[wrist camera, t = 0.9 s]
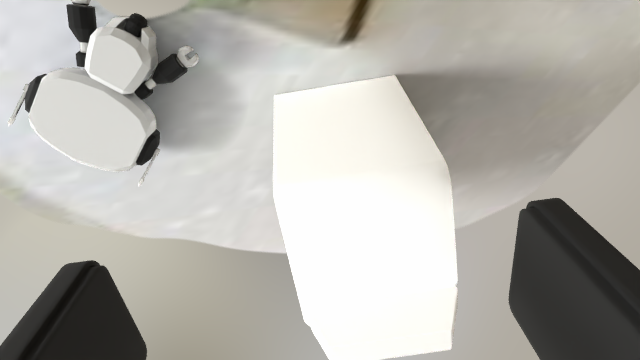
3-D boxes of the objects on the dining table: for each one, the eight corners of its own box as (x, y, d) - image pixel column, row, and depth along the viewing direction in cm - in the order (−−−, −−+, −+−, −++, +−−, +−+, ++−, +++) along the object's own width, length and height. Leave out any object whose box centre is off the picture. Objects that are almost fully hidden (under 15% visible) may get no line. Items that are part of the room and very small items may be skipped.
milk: (394, 74, 39) (527, 234, 16) (401, 177, 45) (507, 402, 22) (274, 95, 39) (238, 278, 17) (295, 193, 45) (290, 432, 22)
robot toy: (82, -28, 34) (29, 117, 39) (54, -31, 30) (-1, 132, 35) (213, 50, 38) (150, 175, 43) (204, 57, 34) (136, 194, 39)
